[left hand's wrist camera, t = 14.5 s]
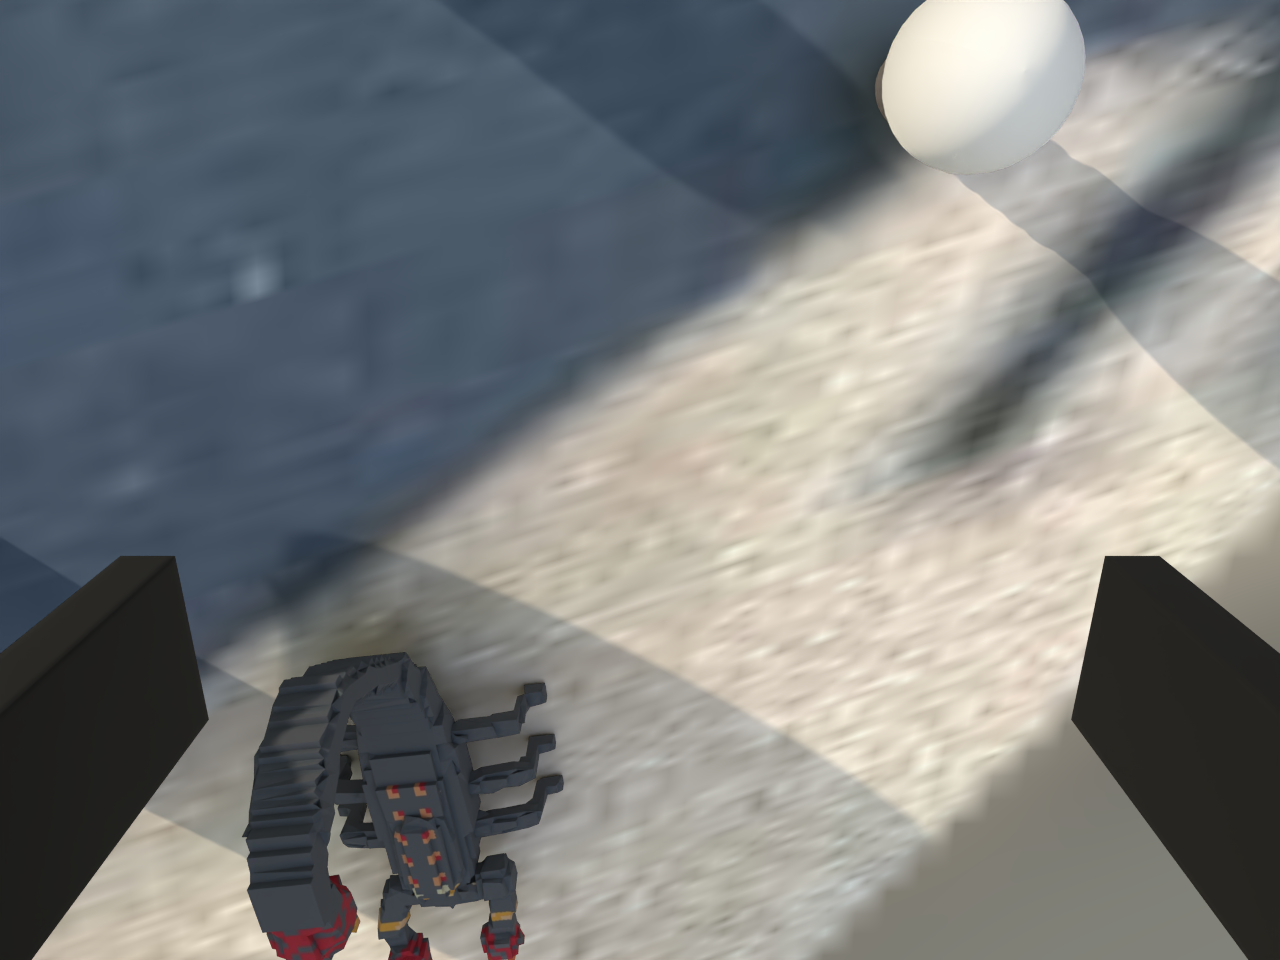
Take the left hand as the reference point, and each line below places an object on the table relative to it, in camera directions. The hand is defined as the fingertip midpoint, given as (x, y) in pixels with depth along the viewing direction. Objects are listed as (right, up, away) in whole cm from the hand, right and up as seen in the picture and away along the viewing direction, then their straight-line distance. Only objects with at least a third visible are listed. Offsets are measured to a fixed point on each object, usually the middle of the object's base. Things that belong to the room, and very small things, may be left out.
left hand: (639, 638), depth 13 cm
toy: (-12, -14, +40) cm, 44 cm away
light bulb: (+12, +20, +27) cm, 35 cm away
